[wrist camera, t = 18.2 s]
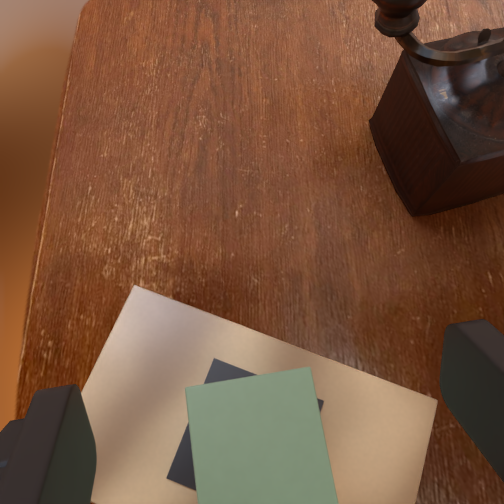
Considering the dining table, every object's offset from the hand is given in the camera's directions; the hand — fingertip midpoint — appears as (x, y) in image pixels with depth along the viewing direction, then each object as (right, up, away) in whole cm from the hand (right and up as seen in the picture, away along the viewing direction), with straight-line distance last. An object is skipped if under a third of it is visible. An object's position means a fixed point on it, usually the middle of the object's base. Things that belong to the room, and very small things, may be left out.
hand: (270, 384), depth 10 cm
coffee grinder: (+14, +11, +32) cm, 37 cm away
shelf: (-1, -10, +23) cm, 26 cm away
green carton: (-1, -8, +17) cm, 18 cm away
